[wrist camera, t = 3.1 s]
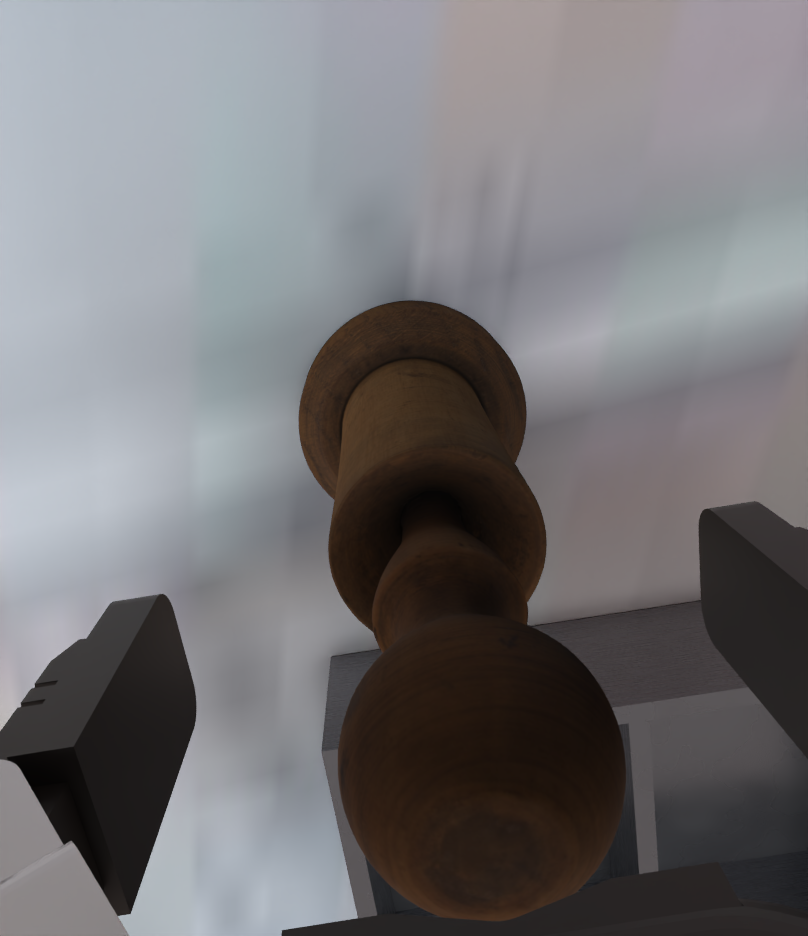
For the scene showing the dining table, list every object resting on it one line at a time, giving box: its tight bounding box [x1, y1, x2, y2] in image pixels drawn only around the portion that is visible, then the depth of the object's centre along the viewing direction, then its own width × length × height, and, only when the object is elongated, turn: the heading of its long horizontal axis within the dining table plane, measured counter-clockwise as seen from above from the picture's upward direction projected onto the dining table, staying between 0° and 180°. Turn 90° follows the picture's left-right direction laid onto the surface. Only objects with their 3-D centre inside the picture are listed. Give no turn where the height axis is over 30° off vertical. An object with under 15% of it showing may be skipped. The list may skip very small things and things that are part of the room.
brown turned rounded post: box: [299, 301, 626, 921], centre depth 15 cm, size 7×6×18 cm
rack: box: [322, 601, 808, 918], centre depth 26 cm, size 27×12×5 cm, turn 99°
